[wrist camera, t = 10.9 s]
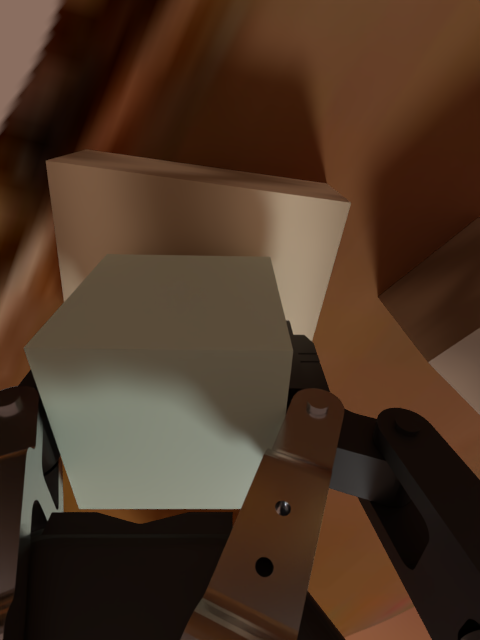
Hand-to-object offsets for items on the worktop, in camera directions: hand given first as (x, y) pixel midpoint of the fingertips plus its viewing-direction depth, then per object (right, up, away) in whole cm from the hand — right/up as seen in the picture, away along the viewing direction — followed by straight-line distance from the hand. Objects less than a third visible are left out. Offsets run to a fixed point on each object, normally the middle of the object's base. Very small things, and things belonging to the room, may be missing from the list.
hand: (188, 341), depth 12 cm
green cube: (0, +1, +1) cm, 1 cm away
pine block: (0, +3, +5) cm, 6 cm away
